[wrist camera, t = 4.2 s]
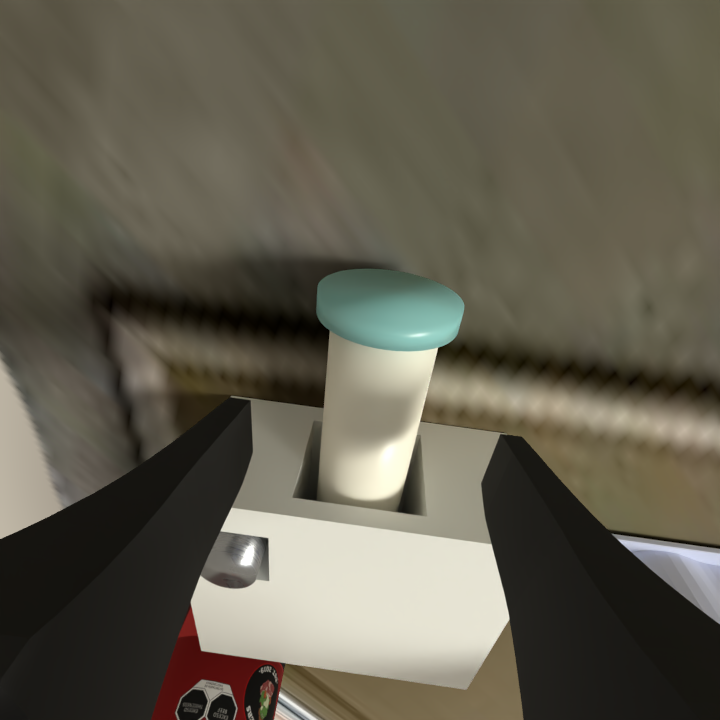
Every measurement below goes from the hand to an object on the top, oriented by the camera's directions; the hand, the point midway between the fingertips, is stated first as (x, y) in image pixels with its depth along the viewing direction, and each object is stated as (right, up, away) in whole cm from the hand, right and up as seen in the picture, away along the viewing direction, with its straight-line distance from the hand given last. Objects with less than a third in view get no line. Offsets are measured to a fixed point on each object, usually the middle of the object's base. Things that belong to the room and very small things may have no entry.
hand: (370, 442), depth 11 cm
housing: (-1, -5, +11) cm, 13 cm away
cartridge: (0, -1, +8) cm, 8 cm away
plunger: (-5, -4, +7) cm, 10 cm away
